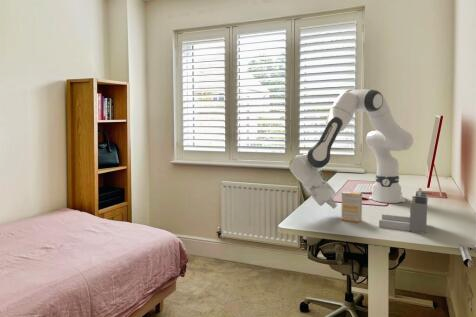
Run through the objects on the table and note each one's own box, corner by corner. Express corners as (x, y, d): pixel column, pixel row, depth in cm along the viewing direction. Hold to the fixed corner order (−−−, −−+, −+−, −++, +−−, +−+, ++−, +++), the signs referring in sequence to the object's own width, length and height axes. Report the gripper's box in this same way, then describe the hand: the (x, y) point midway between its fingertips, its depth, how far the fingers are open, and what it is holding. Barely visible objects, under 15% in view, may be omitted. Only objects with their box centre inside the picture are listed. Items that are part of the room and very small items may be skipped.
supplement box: (361, 220, 170) (362, 191, 169) (359, 222, 166) (360, 193, 165) (343, 217, 175) (344, 190, 173) (340, 220, 171) (341, 192, 169)
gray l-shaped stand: (382, 219, 171) (383, 184, 169) (426, 224, 163) (428, 188, 161) (378, 227, 159) (379, 190, 157) (425, 233, 150) (427, 194, 148)
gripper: (313, 184, 166) (335, 208, 163) (325, 177, 184) (345, 198, 181) (303, 193, 169) (325, 216, 165) (316, 185, 187) (335, 206, 183)
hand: (335, 207), depth 173 cm, fingers closed
